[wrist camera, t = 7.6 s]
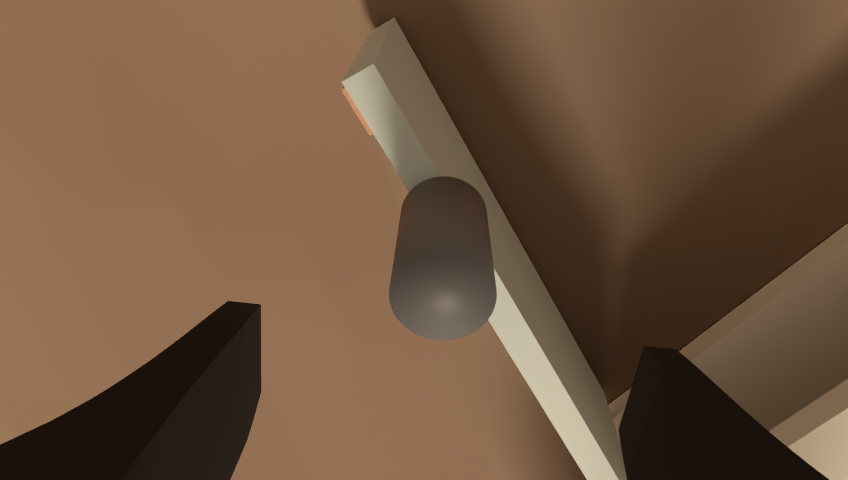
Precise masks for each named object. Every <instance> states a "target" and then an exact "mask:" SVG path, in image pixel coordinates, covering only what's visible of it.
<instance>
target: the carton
mask: <svg viewBox="0 0 848 480" xmlns="http://www.w3.org/2000/svg"><path fill="white" fill-rule="evenodd" d="M679 352H680V353H681V354H683V355H684V356H685V357H686V358H687V359H689V360H690V361H691V362H692V363H693V364H694V365H695V366H697V367H698V368H699V369H700V370H701V371H702V372H703V373H704V374H705V375H706V376H708V377H709V378H710V379H711V380H712V381H713V382H714V383H715V384H716V385H717V386H718V387H720V388H721V389H722V390H723V391H724V392H725V393H726V394H727V395H728V396H729V397H731V398H732V399H733V400H734V401H735V402H736V403H737V404H738V405H739V406H740V407H742V408H743V409H744V410H745V411H746V412H747V413H748V414H749V415H751V416H752V417H753V418H754V419H755V420H756V421H757V422H759V423H760V424H761V425H762V426H763V427H764V428H765V429H767V430H768V431H769V432H770V433H771V434H773V435H774V436H775V437H776V438H777V439H778V440H780V441H781V442H782V443H783V444H785V445H786V446H787V447H788V448H790V449H791V450H792V451H793V452H795V453H796V454H797V455H798V456H799V457H801V458H802V459H803V460H804V461H806V462H807V463H808V464H809V465H811V466H812V467H813V468H815V469H816V470H817V471H819V472H820V473H821V474H823V475H824V476H825V477H827V478H828V479H829V480H848V223H847V224H846V225H844V226H843V227H842V228H841V229H839V230H838V231H837V232H835V233H834V234H833V235H831V236H830V237H829V238H827V239H826V240H825V241H823V242H822V243H821V244H819V245H818V246H817V247H815V248H814V249H813V250H812V251H810V252H809V253H808V254H806V255H805V256H804V257H802V258H801V259H800V260H798V261H797V262H796V263H794V264H793V265H792V266H790V267H789V268H788V269H786V270H785V271H784V272H783V273H781V274H780V275H779V276H777V277H776V278H775V279H773V280H772V281H771V282H769V283H768V284H767V285H765V286H764V287H763V288H761V289H760V290H759V291H758V292H756V293H755V294H754V295H752V296H751V297H750V298H748V299H747V300H746V301H744V302H743V303H742V304H740V305H739V306H738V307H736V308H735V309H734V310H732V311H731V312H730V313H729V314H727V315H726V316H725V317H723V318H722V319H721V320H719V321H718V322H717V323H715V324H714V325H713V326H711V327H710V328H709V329H707V330H706V331H705V332H703V333H702V334H701V335H700V336H698V337H697V338H696V339H694V340H693V341H692V342H690V343H689V344H688V345H686V346H685V347H684V348H682V349H681V350H680V351H679ZM630 390H631V388H630V389H628V390H627V391H626V392H624V393H623V394H622V395H620V396H619V397H618V398H617V399H615V400H614V401H613V402H611V403H610V404H609V405H608V407H609V410H610V413H611V416H612V420H613V423H614V426H615V429H616V432H617V435H618V439H619V442H620V437H619V431H618V429H619V426H620V422H621V419H622V416H623V413H624V410H625V406H626V403H627V400H628V397H629V394H630ZM620 445H621V443H620Z"/></svg>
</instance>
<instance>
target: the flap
mask: <svg viewBox="0 0 848 480" xmlns="http://www.w3.org/2000/svg"><path fill="white" fill-rule="evenodd" d="M342 84H343V85H344V86H343V88H342V92H343V94H344V95H345V97H346V98H347V100H348V102H349V103H350V105H351V106H352V108H353V110H354V111H355V113H356V115H357V116H358V118H359V119H360V121H361V123H362V124H363V126H364V127H365V129H366V131H367V132H368V134H369V135H370V136H371V135H373V134H374V136H375V137H376V139H377V141H378V142H379V144H380V145H381V147H382V149H383V150H384V152H385V154H386V155H387V157H388V158H389V160H390V162H391V163H392V165H393V166H394V168H395V170H396V171H397V173H398V175H399V176H400V178H401V179H402V181H403V183H404V184H405V186H406V188H407V189H408V191H409V193H408V195H407V196H406V198H405V200H404V202H403V205H402V209H401V216H400V222H399V229H398V236H397V242H396V249H395V256H394V262H393V269H392V276H391V282H390V289H389V298H390V304H391V307H392V310H393V312H394V314H395V316H396V317H397V319H398V320H399V321H400V322H401V323H402V324H403V325H404V326H405V327H406V328H407V329H409V330H410V331H412V332H414V333H415V334H417V335H420V336H422V337H425V338H429V339H434V340H453V339H458V338H462V337H464V336H467V335H469V334H471V333H473V332H475V331H476V330H478V329H479V328H480V327H482V326H483V325H484V324H485V323H486V321H487V320H489V322H490V324H491V325H492V327H493V328H494V330H495V332H496V333H497V335H498V337H499V338H500V340H501V341H502V343H503V345H504V346H505V348H506V350H507V351H508V353H509V354H510V356H511V358H512V359H513V361H514V363H515V364H516V366H517V367H518V369H519V371H520V372H521V374H522V375H523V377H524V379H525V380H526V382H527V384H528V385H529V387H530V388H531V390H532V392H533V393H534V395H535V397H536V398H537V400H538V401H539V403H540V405H541V406H542V408H543V410H544V411H545V413H546V414H547V416H548V418H549V419H550V421H551V422H552V424H553V426H554V427H555V429H556V431H557V432H558V434H559V435H560V437H561V439H562V440H563V442H564V444H565V445H566V447H567V448H568V450H569V452H570V453H571V455H572V456H573V458H574V460H575V461H576V463H577V465H578V466H579V468H580V469H581V471H582V473H583V474H584V476H585V478H586V479H587V480H627V476H626V471H625V466H624V461H623V456H622V449H621V445H620V442H619V439H618V435H617V432H616V429H615V426H614V423H613V420H612V416H611V413H610V410H609V407H608V404H607V400H606V397H605V394H604V391H603V389H602V388H601V386H600V384H599V382H598V381H597V379H596V377H595V375H594V373H593V372H592V370H591V368H590V366H589V364H588V363H587V361H586V359H585V357H584V355H583V354H582V352H581V350H580V348H579V347H578V345H577V343H576V341H575V339H574V338H573V336H572V334H571V332H570V330H569V329H568V327H567V325H566V323H565V322H564V320H563V318H562V316H561V314H560V313H559V311H558V309H557V307H556V305H555V304H554V302H553V300H552V298H551V296H550V295H549V293H548V291H547V289H546V288H545V286H544V284H543V282H542V280H541V279H540V277H539V275H538V273H537V271H536V270H535V268H534V266H533V264H532V262H531V261H530V259H529V257H528V255H527V254H526V252H525V250H524V248H523V246H522V245H521V243H520V241H519V239H518V237H517V236H516V234H515V232H514V230H513V229H512V227H511V225H510V223H509V221H508V220H507V218H506V216H505V214H504V212H503V211H502V209H501V207H500V205H499V203H498V202H497V200H496V198H495V196H494V195H493V193H492V191H491V189H490V187H489V186H488V184H487V182H486V180H485V178H484V177H483V175H482V173H481V171H480V169H479V168H478V166H477V164H476V162H475V161H474V159H473V157H472V155H471V153H470V152H469V150H468V148H467V146H466V144H465V143H464V141H463V139H462V137H461V136H460V134H459V132H458V130H457V128H456V127H455V125H454V123H453V121H452V119H451V118H450V116H449V114H448V112H447V110H446V109H445V107H444V105H443V103H442V102H441V100H440V98H439V96H438V94H437V93H436V91H435V89H434V87H433V85H432V84H431V82H430V80H429V78H428V76H427V75H426V73H425V71H424V69H423V68H422V66H421V64H420V62H419V60H418V59H417V57H416V55H415V53H414V51H413V50H412V48H411V46H410V44H409V43H408V41H407V39H406V37H405V35H404V34H403V32H402V30H401V28H400V26H399V25H398V23H397V21H396V19H395V17H394V18H392V19H391V20H389V21H387V22H385V23H384V24H382V25H380V26H379V27H377V28H375V29H374V30H372V31H371V32H370V34H369V35H368V37H367V39H366V40H365V42H364V44H363V46H362V47H361V49H360V51H359V53H358V54H357V56H356V58H355V59H354V61H353V63H352V65H351V66H350V68H349V70H348V72H347V73H346V75H345V77H344V79H343V80H342Z"/></svg>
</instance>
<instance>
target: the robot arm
mask: <svg viewBox="0 0 848 480" xmlns="http://www.w3.org/2000/svg"><path fill="white" fill-rule="evenodd" d="M260 394H261V305H260V304H251V303H241V302H232V301H228V302H226V303H225V304H224V305H222V306H221V307H220V308H218V309H217V310H216V311H214V312H213V313H212V314H210V315H209V316H208V317H207V318H205V319H204V320H203V321H202V322H200V323H199V324H198V325H196V326H195V327H194V328H193V329H191V330H190V331H189V332H188V333H186V334H185V335H184V336H182V337H181V338H180V339H179V340H177V341H176V342H175V343H173V344H172V345H171V346H169V347H168V348H167V349H165V350H164V351H163V352H161V353H160V354H158V355H157V356H156V357H154V358H153V359H152V360H150V361H149V362H147V363H146V364H144V365H143V366H142V367H140V368H139V369H137V370H136V371H134V372H133V373H131V374H130V375H128V376H127V377H125V378H124V379H122V380H121V381H119V382H118V383H116V384H115V385H113V386H112V387H110V388H109V389H107V390H105V391H104V392H102V393H100V394H99V395H97V396H95V397H94V398H92V399H90V400H89V401H87V402H85V403H83V404H81V405H80V406H78V407H76V408H74V409H72V410H70V411H69V412H67V413H65V414H63V415H61V416H59V417H58V418H56V419H54V420H52V421H50V422H48V423H46V424H44V425H41V426H39V427H37V428H35V429H33V430H31V431H29V432H27V433H24V434H22V435H20V436H18V437H16V438H14V439H12V440H9V441H7V442H5V443H3V444H1V445H0V480H230V479H231V476H232V474H233V472H234V470H235V467H236V465H237V463H238V460H239V458H240V456H241V453H242V451H243V448H244V446H245V444H246V441H247V439H248V435H249V432H250V429H251V425H252V422H253V419H254V415H255V412H256V408H257V405H258V401H259V397H260ZM618 431H619V437H620V443H621V449H622V456H623V461H624V466H625V471H626V476H627V480H829V479H828V478H827V477H825V476H824V475H823V474H821V473H820V472H819V471H817V470H816V469H815V468H813V467H812V466H811V465H809V464H808V463H807V462H806V461H804V460H803V459H802V458H801V457H799V456H798V455H797V454H796V453H795V452H793V451H792V450H791V449H790V448H788V447H787V446H786V445H785V444H783V443H782V442H781V441H780V440H778V439H777V438H776V437H775V436H774V435H773V434H771V433H770V432H769V431H768V430H767V429H765V428H764V427H763V426H762V425H761V424H760V423H759V422H757V421H756V420H755V419H754V418H753V417H752V416H751V415H749V414H748V413H747V412H746V411H745V410H744V409H743V408H742V407H740V406H739V405H738V404H737V403H736V402H735V401H734V400H733V399H732V398H731V397H729V396H728V395H727V394H726V393H725V392H724V391H723V390H722V389H721V388H720V387H718V386H717V385H716V384H715V383H714V382H713V381H712V380H711V379H710V378H709V377H708V376H706V375H705V374H704V373H703V372H702V371H701V370H700V369H699V368H698V367H697V366H695V365H694V364H693V363H692V362H691V361H690V360H689V359H687V358H686V357H685V356H684V355H683V354H681V353H680V352H679V351H678V350H675V349H665V348H656V347H647V346H644V349H643V352H642V355H641V358H640V362H639V365H638V368H637V371H636V374H635V378H634V381H633V384H632V387H631V390H630V394H629V397H628V400H627V403H626V406H625V410H624V413H623V416H622V419H621V422H620V426H619V429H618Z"/></svg>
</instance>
